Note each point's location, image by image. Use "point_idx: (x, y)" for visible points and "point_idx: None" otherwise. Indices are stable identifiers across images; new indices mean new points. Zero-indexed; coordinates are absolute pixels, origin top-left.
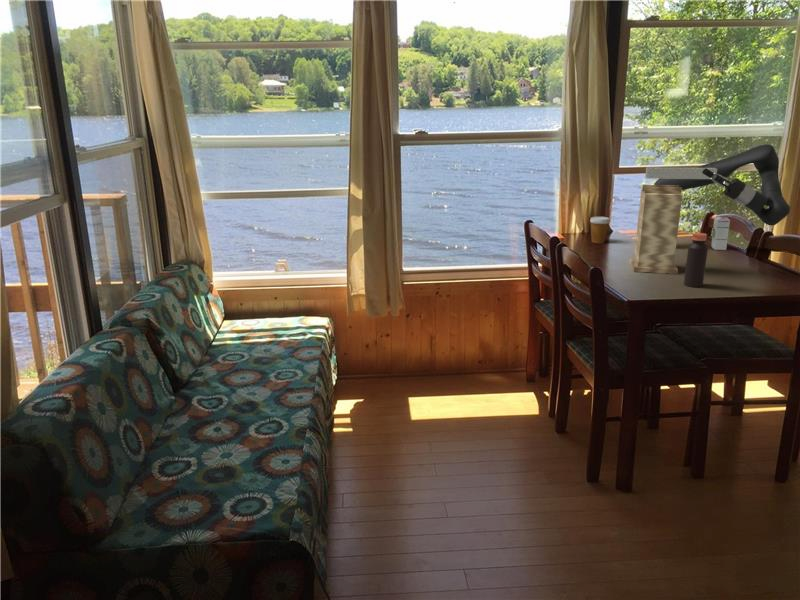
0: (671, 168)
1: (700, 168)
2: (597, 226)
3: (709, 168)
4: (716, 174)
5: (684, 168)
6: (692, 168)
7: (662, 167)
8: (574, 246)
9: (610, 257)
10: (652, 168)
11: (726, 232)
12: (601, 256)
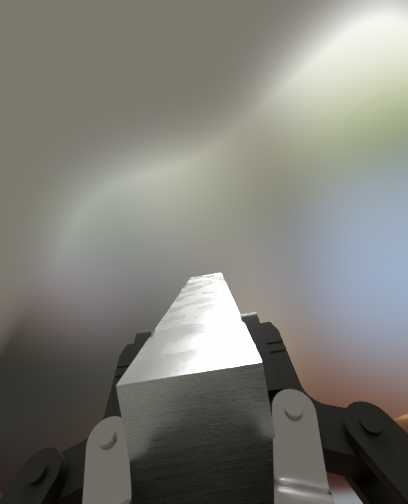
0: (189, 287)
1: (187, 318)
2: None
3: (184, 342)
4: (86, 454)
5: (188, 296)
6: (187, 305)
7: (223, 278)
8: (401, 420)
9: (349, 500)
10: (189, 279)
11: None
12: (344, 478)
